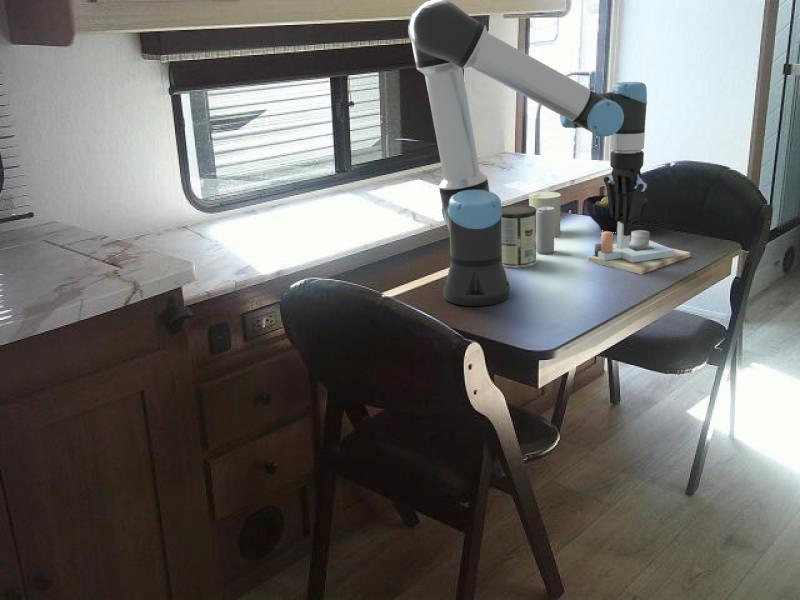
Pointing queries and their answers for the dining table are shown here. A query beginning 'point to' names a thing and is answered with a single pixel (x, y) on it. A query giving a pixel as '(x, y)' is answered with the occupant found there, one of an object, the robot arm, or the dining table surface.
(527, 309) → the dining table surface
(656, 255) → the flange plate
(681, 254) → the post base
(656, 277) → the dining table surface
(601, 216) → the bowl
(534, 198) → the can
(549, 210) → the beverage can
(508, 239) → the coffee can
